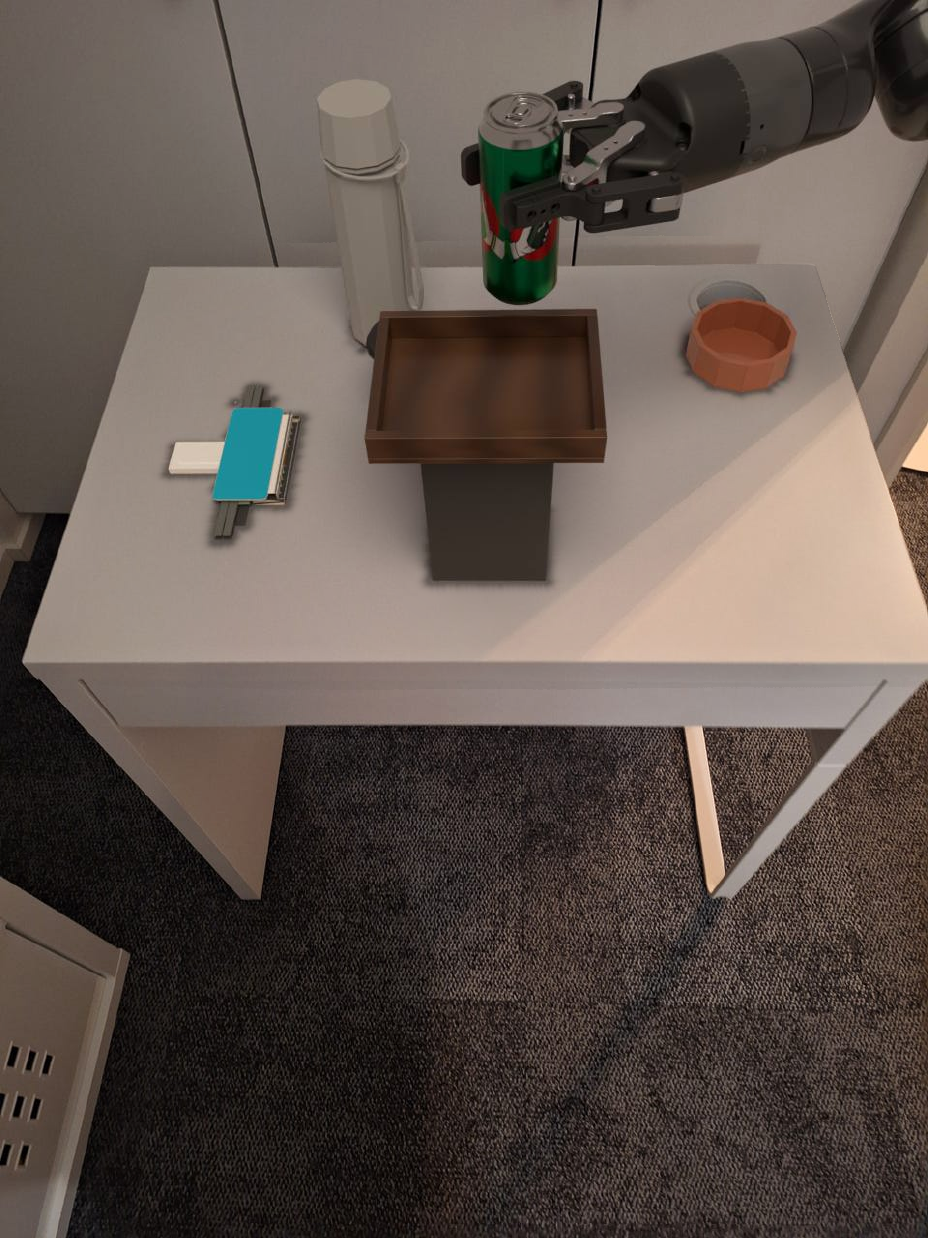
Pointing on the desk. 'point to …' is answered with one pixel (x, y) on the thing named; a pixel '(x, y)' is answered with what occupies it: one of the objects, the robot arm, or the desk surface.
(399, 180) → the water bottle
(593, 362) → the tray
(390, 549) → the desk surface
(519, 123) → the soda can
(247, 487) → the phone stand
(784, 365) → the bowl
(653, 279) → the desk surface
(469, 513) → the stand
